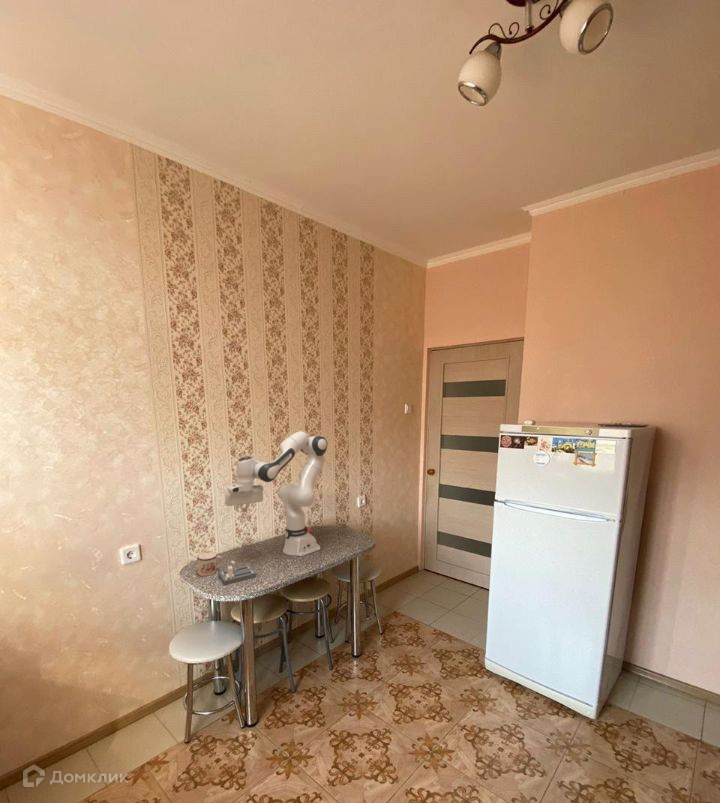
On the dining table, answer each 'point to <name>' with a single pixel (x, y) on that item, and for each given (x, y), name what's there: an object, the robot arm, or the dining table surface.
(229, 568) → the cap
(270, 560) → the dining table surface
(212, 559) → the teacup with lid
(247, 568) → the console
